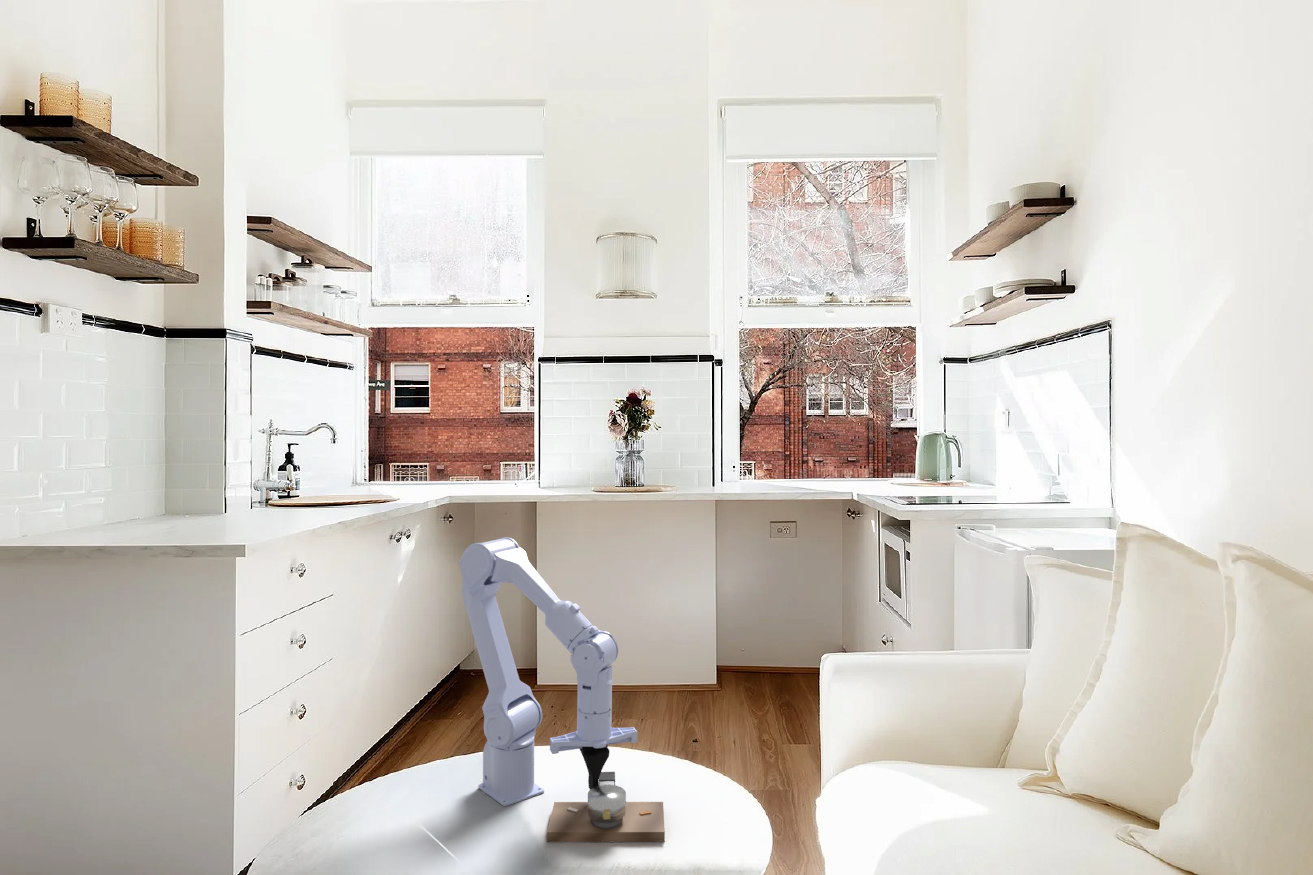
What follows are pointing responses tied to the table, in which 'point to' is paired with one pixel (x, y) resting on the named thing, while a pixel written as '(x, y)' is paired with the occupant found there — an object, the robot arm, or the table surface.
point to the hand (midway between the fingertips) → (593, 789)
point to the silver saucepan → (606, 800)
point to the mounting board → (606, 824)
